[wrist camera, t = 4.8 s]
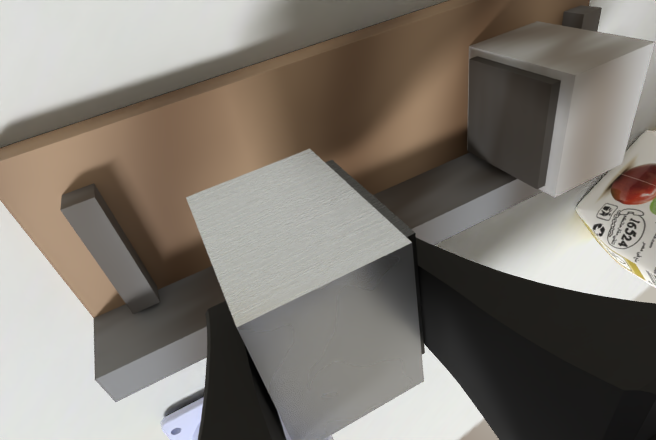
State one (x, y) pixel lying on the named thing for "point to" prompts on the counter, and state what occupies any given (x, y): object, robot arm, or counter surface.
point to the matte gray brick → (316, 289)
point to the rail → (321, 154)
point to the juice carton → (627, 210)
